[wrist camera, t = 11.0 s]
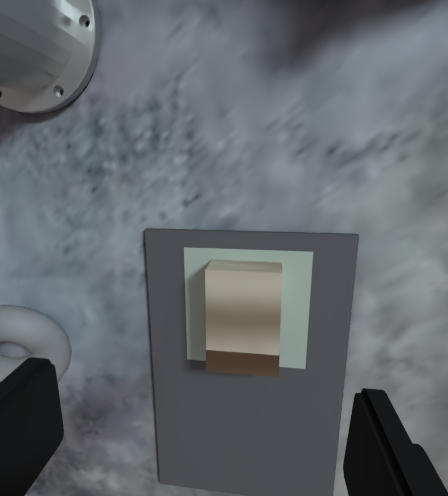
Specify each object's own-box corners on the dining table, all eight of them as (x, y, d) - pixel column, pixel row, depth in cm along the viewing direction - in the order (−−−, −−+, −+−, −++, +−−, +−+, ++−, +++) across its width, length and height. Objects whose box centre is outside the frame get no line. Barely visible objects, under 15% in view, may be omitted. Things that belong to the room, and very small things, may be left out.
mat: (161, 479, 36) (159, 483, 36) (146, 228, 29) (144, 229, 29) (330, 501, 34) (331, 507, 33) (357, 233, 27) (359, 235, 26)
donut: (97, 335, 33) (25, 405, 23) (84, 360, 34) (10, 437, 24) (11, 283, 33) (-96, 332, 23) (0, 310, 34) (-107, 367, 24)
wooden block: (277, 356, 30) (278, 377, 27) (212, 351, 31) (206, 371, 28) (282, 261, 28) (283, 272, 25) (211, 259, 29) (204, 269, 26)
